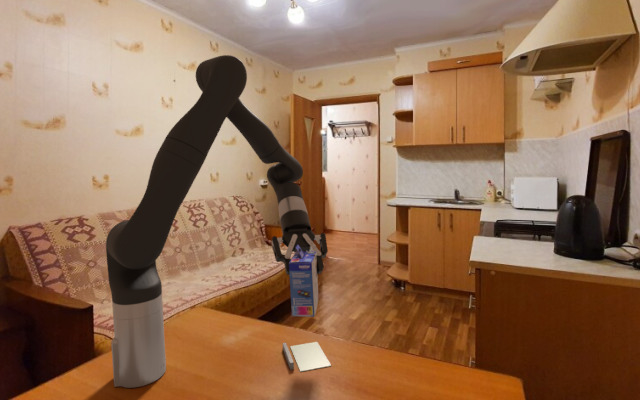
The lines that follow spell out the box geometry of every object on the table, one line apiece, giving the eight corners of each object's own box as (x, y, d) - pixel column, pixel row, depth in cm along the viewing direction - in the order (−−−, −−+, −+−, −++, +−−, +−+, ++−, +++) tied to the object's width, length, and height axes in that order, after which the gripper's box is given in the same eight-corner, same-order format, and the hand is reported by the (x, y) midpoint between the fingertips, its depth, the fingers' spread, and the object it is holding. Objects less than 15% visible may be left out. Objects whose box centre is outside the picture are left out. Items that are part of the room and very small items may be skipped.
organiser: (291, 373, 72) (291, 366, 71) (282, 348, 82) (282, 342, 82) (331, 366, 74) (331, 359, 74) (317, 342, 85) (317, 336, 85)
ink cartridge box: (296, 299, 82) (295, 241, 81) (318, 299, 82) (317, 241, 81) (289, 317, 73) (288, 251, 71) (315, 317, 72) (313, 251, 71)
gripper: (268, 209, 84) (277, 269, 74) (322, 207, 88) (338, 262, 78) (265, 227, 90) (273, 284, 79) (317, 224, 94) (331, 278, 84)
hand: (305, 273), depth 79 cm, fingers closed on ink cartridge box, 6 cm apart
